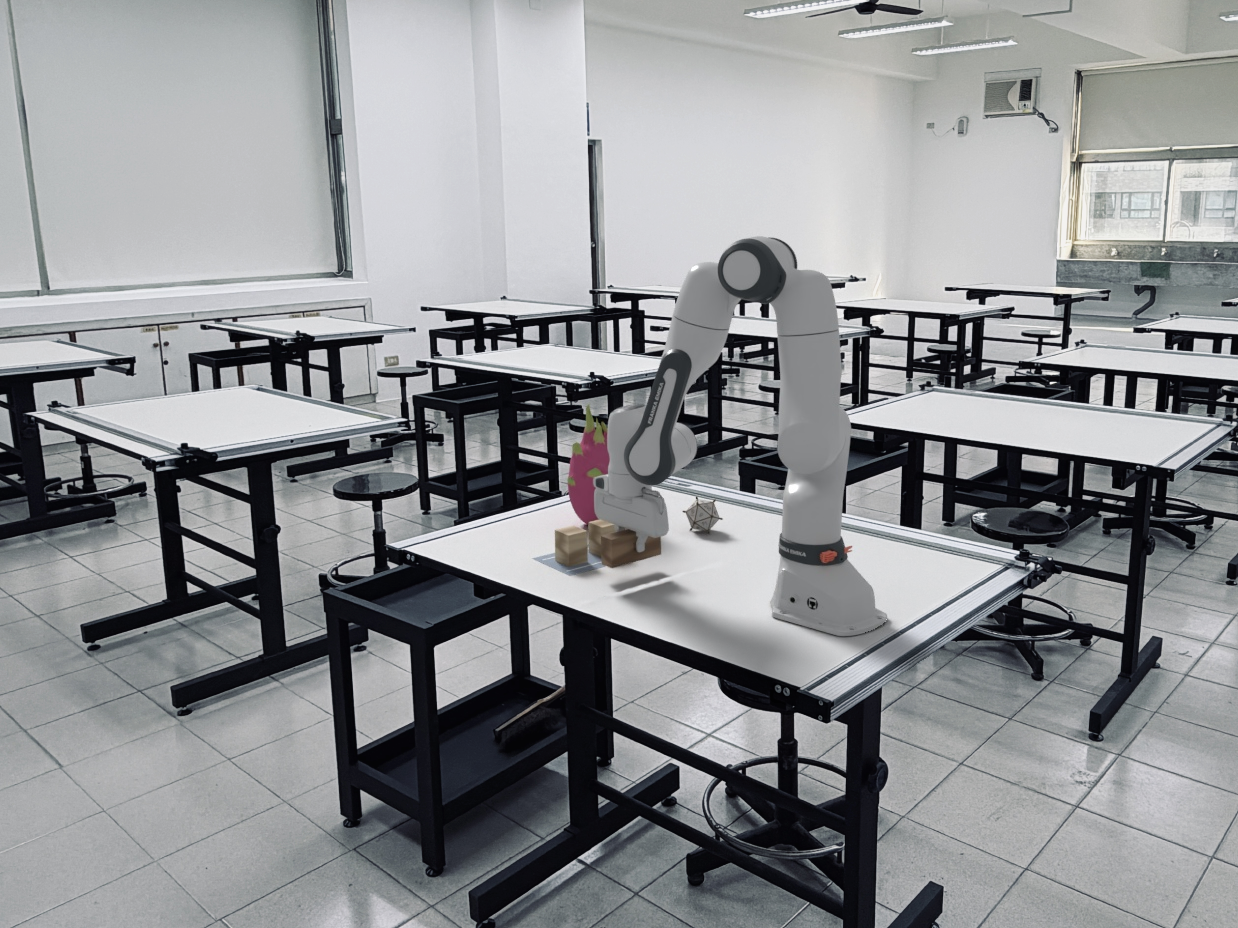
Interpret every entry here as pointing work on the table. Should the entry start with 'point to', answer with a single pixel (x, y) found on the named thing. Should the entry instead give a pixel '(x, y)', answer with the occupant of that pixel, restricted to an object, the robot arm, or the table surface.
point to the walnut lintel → (626, 548)
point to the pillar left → (571, 546)
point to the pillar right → (598, 535)
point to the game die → (702, 515)
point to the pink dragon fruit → (587, 468)
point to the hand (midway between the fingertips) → (631, 548)
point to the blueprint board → (592, 564)
